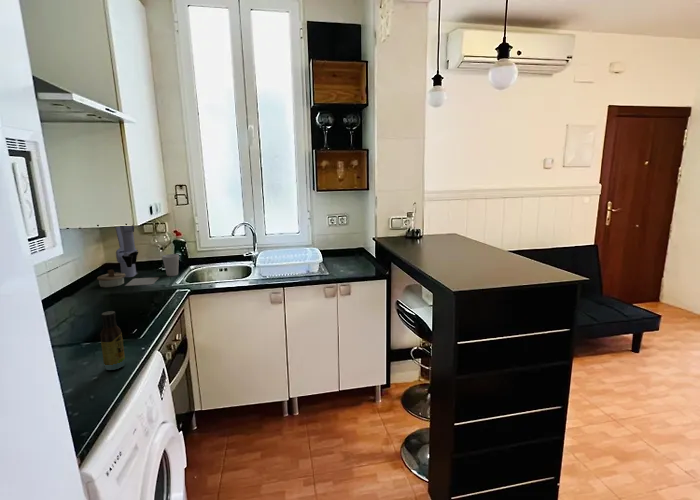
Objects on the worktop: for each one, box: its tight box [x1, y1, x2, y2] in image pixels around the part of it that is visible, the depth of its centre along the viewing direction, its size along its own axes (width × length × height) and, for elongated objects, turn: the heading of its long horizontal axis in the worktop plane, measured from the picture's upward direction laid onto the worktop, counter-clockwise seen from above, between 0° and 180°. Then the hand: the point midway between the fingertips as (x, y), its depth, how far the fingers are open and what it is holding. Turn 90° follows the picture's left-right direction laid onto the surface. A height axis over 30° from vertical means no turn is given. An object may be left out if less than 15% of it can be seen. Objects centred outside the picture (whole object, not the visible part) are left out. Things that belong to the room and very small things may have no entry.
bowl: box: [98, 277, 125, 288], centre depth 225 cm, size 12×12×4 cm
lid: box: [96, 269, 126, 281], centre depth 224 cm, size 14×14×4 cm
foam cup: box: [161, 253, 180, 277], centre depth 243 cm, size 10×9×13 cm
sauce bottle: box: [99, 310, 126, 365], centre depth 130 cm, size 6×6×20 cm
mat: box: [124, 276, 160, 287], centre depth 230 cm, size 15×15×1 cm
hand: (131, 265), depth 230 cm, fingers open, 7 cm apart
